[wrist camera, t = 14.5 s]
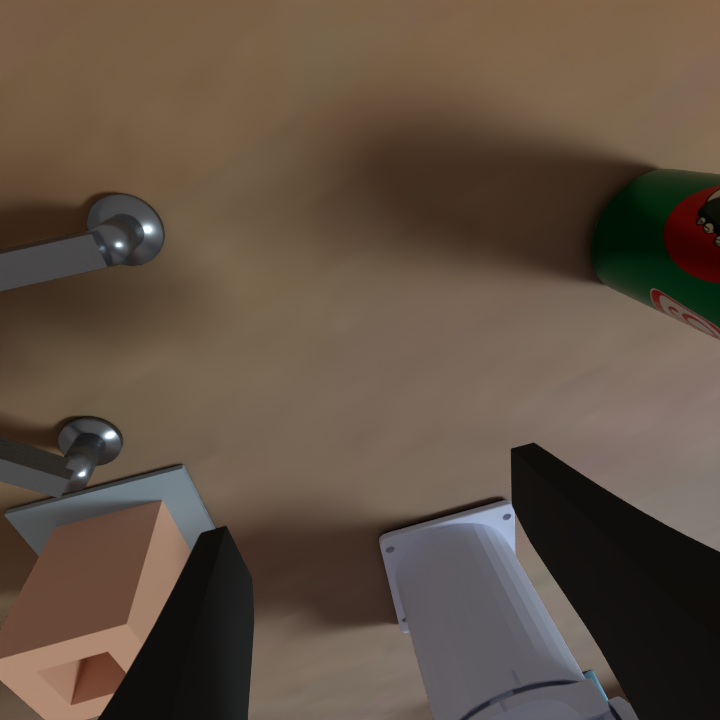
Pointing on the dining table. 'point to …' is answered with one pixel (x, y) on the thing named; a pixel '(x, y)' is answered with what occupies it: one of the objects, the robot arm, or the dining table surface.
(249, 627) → the robot arm
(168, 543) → the pink block with hole
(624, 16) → the dining table surface
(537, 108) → the dining table surface
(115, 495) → the mat
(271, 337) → the dining table surface
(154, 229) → the bent jointed bar linkage
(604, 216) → the soda can
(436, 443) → the dining table surface
